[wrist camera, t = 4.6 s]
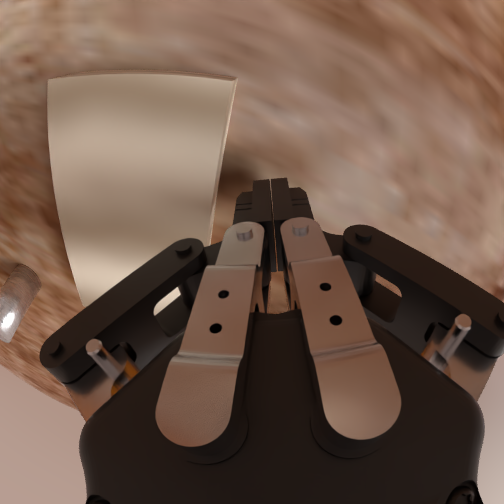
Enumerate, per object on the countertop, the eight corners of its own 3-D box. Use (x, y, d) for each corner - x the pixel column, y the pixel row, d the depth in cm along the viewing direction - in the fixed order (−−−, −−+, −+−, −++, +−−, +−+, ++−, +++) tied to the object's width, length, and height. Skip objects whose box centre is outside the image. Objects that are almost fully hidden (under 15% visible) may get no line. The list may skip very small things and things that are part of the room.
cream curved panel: (83, 71, 10) (47, 79, 8) (238, 77, 11) (232, 81, 8) (99, 275, 19) (82, 305, 16) (204, 296, 19) (197, 331, 17)
